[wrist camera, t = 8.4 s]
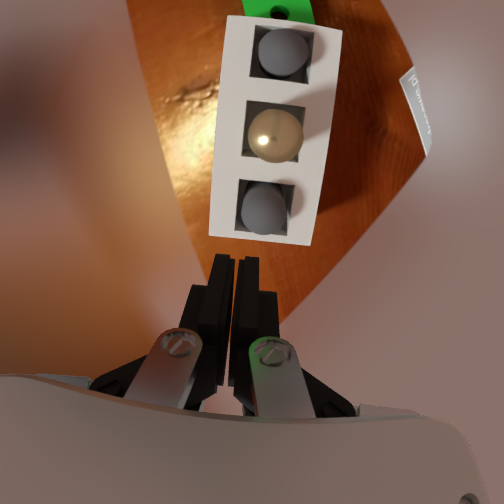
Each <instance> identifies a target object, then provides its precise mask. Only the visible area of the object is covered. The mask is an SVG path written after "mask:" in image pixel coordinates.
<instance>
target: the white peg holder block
mask: <svg viewBox="0 0 504 504" xmlns="http://www.w3.org/2000/svg"><path fill="white" fill-rule="evenodd" d="M276 29H289V30H292V31H295V32H296V33H298V34H299V35H301V36H302V37H303V39H304V40H305V41H306V43H307V46H308V58H307V60H306V62H305V63H304V65H303V66H302V67H301V68H299V69H298V70H297V71H296V72H295V73H294V74H293V75H292V76H290V77H289V78H286V79H282V80H277V79H273V78H270V77H268V76H267V75H265V74H264V73H263V72H262V70H261V68H260V66H259V44H260V41H261V39H262V38H263V37H264V36H265V35H266V34H267V33H268V32H270V31H272V30H276ZM341 42H342V31H341V30H337V29H332V28H328V27H323V26H318V25H312V24H307V23H301V22H294V21H287V20H279V19H271V18H261V17H248V16H229V15H228V17H227V25H226V33H225V41H224V49H223V58H222V67H221V76H220V86H219V96H218V107H217V118H216V130H215V142H214V155H213V170H212V185H211V202H210V221H209V235H210V236H220V237H230V238H240V239H250V240H260V241H269V242H279V243H288V244H298V245H307V246H310V244H311V239H312V234H313V229H314V224H315V219H316V214H317V208H318V203H319V197H320V192H321V186H322V180H323V175H324V169H325V163H326V157H327V150H328V144H329V137H330V131H331V124H332V117H333V110H334V102H335V95H336V87H337V78H338V70H339V61H340V52H341ZM267 109H277V110H283V111H286V112H288V113H290V114H292V115H293V116H294V117H295V118H296V119H297V120H298V121H299V122H300V124H301V126H302V129H303V133H304V140H303V145H302V147H301V149H300V151H299V152H298V154H297V155H296V156H295V157H293V158H292V159H290V160H288V161H286V162H283V163H270V162H266V161H264V160H262V159H260V158H259V157H258V156H256V155H255V153H254V152H253V151H252V149H251V147H250V145H249V141H248V131H249V127H250V125H251V123H252V121H253V119H254V118H255V117H256V115H258V114H259V113H260V112H262V111H264V110H267ZM250 180H254V181H264V182H273V183H279V184H280V186H281V189H282V193H283V198H284V202H285V206H286V210H287V217H286V221H285V223H284V225H283V226H282V227H281V228H280V229H279V230H278V231H277V232H275V233H273V234H269V235H259V234H256V233H253V232H252V231H250V230H249V229H248V228H247V227H246V226H245V225H244V223H243V220H242V216H241V212H242V206H243V200H244V194H245V189H246V186H247V184H248V182H249V181H250Z"/></svg>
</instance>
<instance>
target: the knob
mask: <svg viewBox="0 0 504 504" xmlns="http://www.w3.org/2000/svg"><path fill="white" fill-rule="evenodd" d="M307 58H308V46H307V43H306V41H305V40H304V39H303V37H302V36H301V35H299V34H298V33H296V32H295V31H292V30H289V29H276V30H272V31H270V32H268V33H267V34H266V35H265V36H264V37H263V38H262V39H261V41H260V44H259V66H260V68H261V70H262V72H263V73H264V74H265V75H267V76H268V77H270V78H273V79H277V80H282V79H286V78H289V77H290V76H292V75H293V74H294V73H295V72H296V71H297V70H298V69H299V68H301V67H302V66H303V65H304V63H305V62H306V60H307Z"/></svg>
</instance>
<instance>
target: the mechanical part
mask: <svg viewBox="0 0 504 504" xmlns="http://www.w3.org/2000/svg"><path fill="white" fill-rule="evenodd" d="M242 2H243V6H244V11H245V15H246V16H248V17H261V18H271V16H270V15H271V14H272V13H274V12H282V13H284V14H285V15H286V16H287V18H288V19H287V21H294V22H301V23H307V24H312V25H315V20H314V16H313V12H312V8H311V4H310V0H242ZM271 19H272V18H271Z"/></svg>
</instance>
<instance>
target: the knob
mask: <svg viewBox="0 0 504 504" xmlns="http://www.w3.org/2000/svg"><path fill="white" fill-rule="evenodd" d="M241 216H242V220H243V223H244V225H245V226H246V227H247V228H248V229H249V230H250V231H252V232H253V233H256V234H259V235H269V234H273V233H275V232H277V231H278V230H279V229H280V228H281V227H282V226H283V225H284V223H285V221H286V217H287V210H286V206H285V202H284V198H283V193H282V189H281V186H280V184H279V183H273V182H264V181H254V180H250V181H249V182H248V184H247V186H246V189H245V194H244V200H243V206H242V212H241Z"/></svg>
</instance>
